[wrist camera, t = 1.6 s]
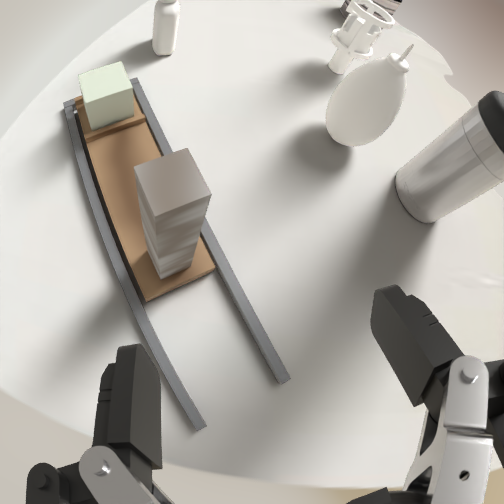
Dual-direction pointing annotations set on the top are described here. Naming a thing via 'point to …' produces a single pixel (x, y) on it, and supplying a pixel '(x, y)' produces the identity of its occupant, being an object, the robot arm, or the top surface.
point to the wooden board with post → (151, 202)
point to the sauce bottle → (367, 100)
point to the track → (210, 244)
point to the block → (107, 95)
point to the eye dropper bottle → (165, 26)
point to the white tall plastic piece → (358, 34)
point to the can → (389, 3)
